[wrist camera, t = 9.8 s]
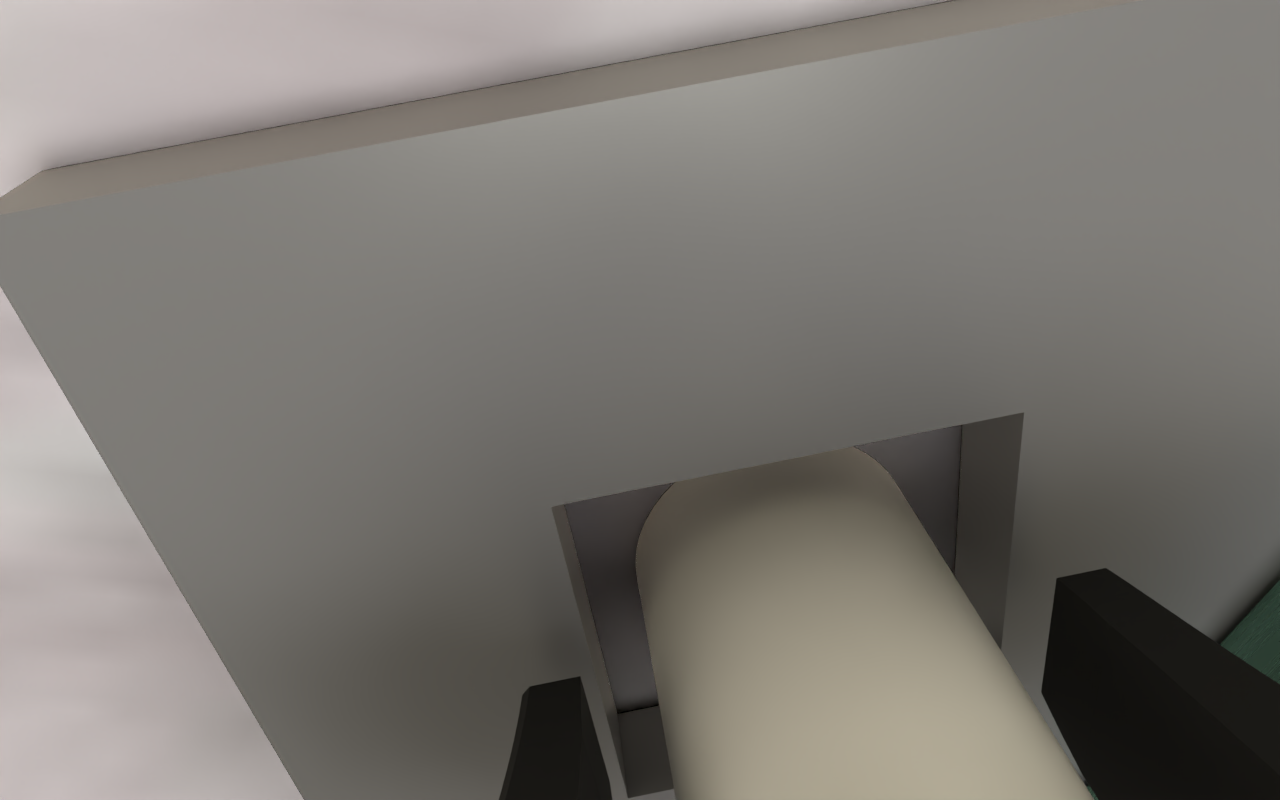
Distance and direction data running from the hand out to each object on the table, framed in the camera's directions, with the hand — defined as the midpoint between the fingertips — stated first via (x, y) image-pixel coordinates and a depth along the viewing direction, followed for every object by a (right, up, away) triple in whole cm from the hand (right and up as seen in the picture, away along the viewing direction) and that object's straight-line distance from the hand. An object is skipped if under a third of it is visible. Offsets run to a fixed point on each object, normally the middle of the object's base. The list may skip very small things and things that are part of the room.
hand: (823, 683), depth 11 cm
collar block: (0, +1, +2) cm, 2 cm away
